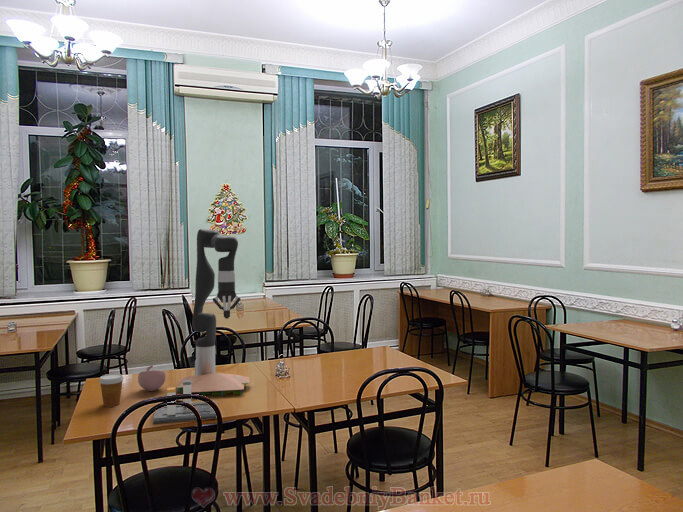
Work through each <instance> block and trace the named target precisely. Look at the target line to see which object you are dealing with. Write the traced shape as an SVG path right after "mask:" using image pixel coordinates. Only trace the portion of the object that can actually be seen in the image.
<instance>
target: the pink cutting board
mask: <svg viewBox="0 0 683 512" xmlns="http://www.w3.org/2000/svg"><path fill="white" fill-rule="evenodd" d="M184 380H191V393H198V394H202V395H201V396H204V393H209V392H213V395H214V398H215V395H216V392H217V394H218V395H221V397H223V395H224V397H225V395H226V392H229V391H234V396H236V394H239V395H241V396H242V391H243V390H245V389H246V388H247V387H246V386H247V385H248V384H251V381H250V376H244V375H241V374H233V373H223V372H222V373H221V372H215V373H212V374H207V375H195V374H194V375H190V376H186V377H181V378H179V380H178V382H177V384H176V386H175V387H176V389H177V393H178V392H179V393H180V391H181V389H183V381H184Z"/></svg>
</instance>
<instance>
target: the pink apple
mask: <svg viewBox="0 0 683 512" xmlns="http://www.w3.org/2000/svg"><path fill="white" fill-rule="evenodd" d="M153 367H154V365H152V364H151V365H150V366H147V367H146V370H144V371H141V372H139V373H138V376H137V381H138V385H139V387H140V388H142V389H143V390H144V391H148V392H152V391H153V392H154V391H157V390H159V389H160V388H161V387H162V386H163V385H164V383H165V382H166V375H167V374H166V372H165V371H164V370H160V369H155V370H154V369H152V368H153Z"/></svg>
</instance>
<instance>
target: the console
mask: <svg viewBox="0 0 683 512" xmlns="http://www.w3.org/2000/svg"><path fill="white" fill-rule="evenodd" d="M205 402H206V401H203V402H201V401H200V402H191V405H193V406H194V407H195V408H196V409H197V411H198V412H199V414H200V416H201V419H202V420H213V419H217V418H216V413H215V411H214V410H213V409H212V408H211V406H209V405H208V404H207V403H205ZM214 402H215V403H216V404H217V406H218V401H217V400H216V401H215V400H214ZM189 421H197V420H196V417H195V415H194V413H193V412H192V411H191V410H189V409H187V408H186V407H183V406H181V405H176V414H175V415H167V406H165V407H162V408H160V409H158V410H157V411H156V410H155V412H154V415H153V419H152V423H153V424H164V423H176V422H178V423H179V422H189Z"/></svg>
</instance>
